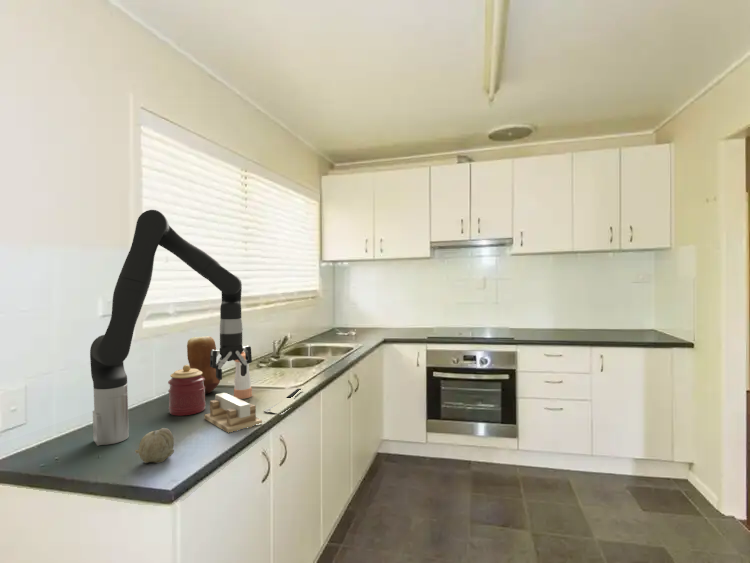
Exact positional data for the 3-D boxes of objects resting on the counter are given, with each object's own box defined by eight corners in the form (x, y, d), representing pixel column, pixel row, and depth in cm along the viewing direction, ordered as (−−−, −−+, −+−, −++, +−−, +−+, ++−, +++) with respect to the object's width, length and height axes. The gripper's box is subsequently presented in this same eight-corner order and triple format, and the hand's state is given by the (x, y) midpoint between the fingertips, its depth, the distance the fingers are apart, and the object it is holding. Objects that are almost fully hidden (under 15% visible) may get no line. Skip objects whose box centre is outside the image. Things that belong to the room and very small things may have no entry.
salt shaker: (238, 400, 183) (237, 353, 182) (231, 396, 188) (230, 351, 188) (254, 396, 188) (254, 351, 187) (247, 393, 193) (246, 349, 192)
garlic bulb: (171, 463, 128) (183, 429, 130) (162, 471, 120) (175, 434, 122) (138, 455, 127) (151, 420, 129) (127, 463, 119) (141, 425, 121)
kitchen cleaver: (287, 413, 163) (262, 409, 165) (286, 418, 163) (261, 413, 165) (315, 390, 193) (294, 387, 195) (315, 394, 194) (293, 391, 196)
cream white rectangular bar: (250, 415, 150) (249, 403, 150) (240, 418, 148) (240, 406, 148) (224, 403, 165) (224, 392, 165) (215, 405, 163) (215, 394, 162)
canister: (192, 417, 162) (191, 369, 161) (161, 415, 164) (159, 368, 164) (212, 406, 175) (211, 361, 174) (183, 404, 177) (181, 360, 177)
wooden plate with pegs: (261, 424, 153) (261, 405, 153) (228, 433, 145) (228, 413, 145) (236, 411, 168) (235, 394, 168) (204, 418, 160) (204, 400, 160)
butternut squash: (200, 388, 202) (199, 333, 202) (226, 390, 199) (225, 334, 198) (179, 396, 189) (178, 338, 188) (206, 398, 185) (205, 339, 185)
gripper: (245, 328, 163) (245, 372, 163) (206, 332, 154) (207, 379, 154) (254, 330, 157) (255, 376, 158) (215, 334, 148) (215, 382, 148)
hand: (231, 377), depth 156 cm, fingers open, 8 cm apart
